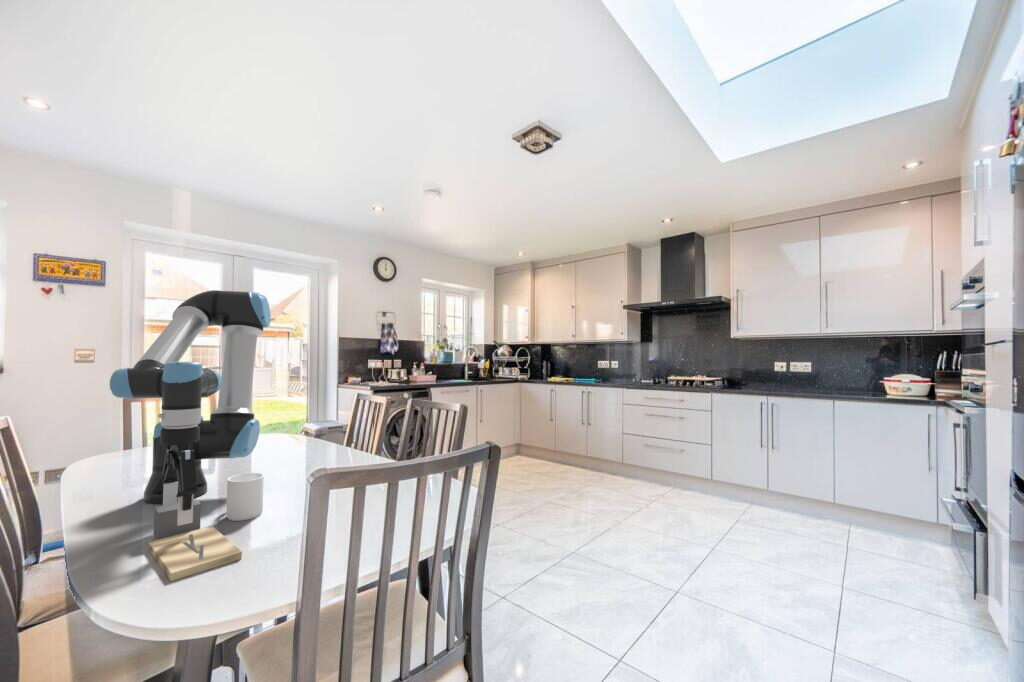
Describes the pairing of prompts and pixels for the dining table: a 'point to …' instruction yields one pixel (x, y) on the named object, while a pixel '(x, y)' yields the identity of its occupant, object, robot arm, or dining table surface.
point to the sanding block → (174, 521)
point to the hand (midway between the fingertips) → (177, 516)
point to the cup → (245, 496)
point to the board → (193, 552)
